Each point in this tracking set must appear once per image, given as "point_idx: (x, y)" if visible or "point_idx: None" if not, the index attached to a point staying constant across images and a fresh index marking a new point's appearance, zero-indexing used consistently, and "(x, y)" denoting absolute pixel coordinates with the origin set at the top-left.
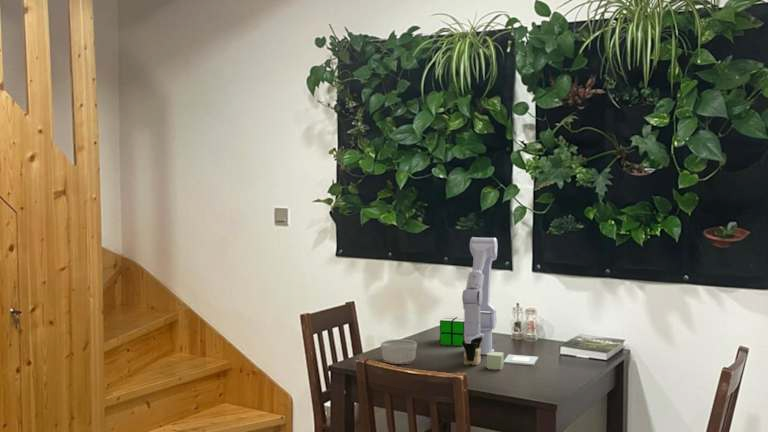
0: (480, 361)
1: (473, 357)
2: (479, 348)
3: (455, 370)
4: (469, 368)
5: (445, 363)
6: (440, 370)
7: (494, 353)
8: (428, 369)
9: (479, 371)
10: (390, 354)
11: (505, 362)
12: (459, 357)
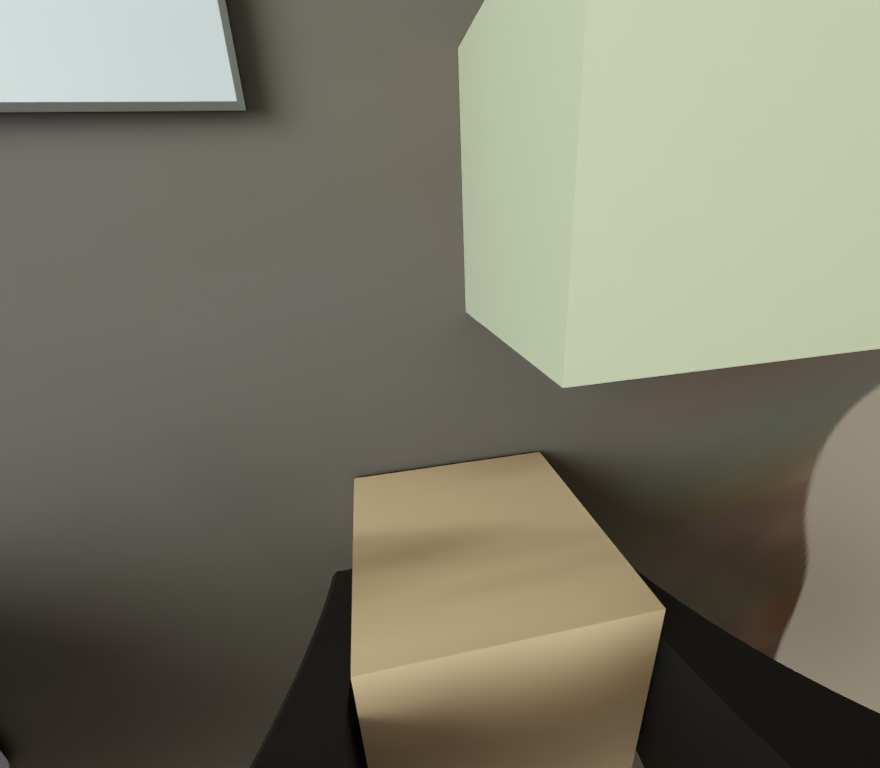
0: (367, 480)
1: None
2: (392, 683)
3: (763, 557)
4: (680, 480)
5: None
6: (768, 643)
7: (760, 189)
8: None
9: None
10: None
11: (228, 43)
12: (256, 729)
